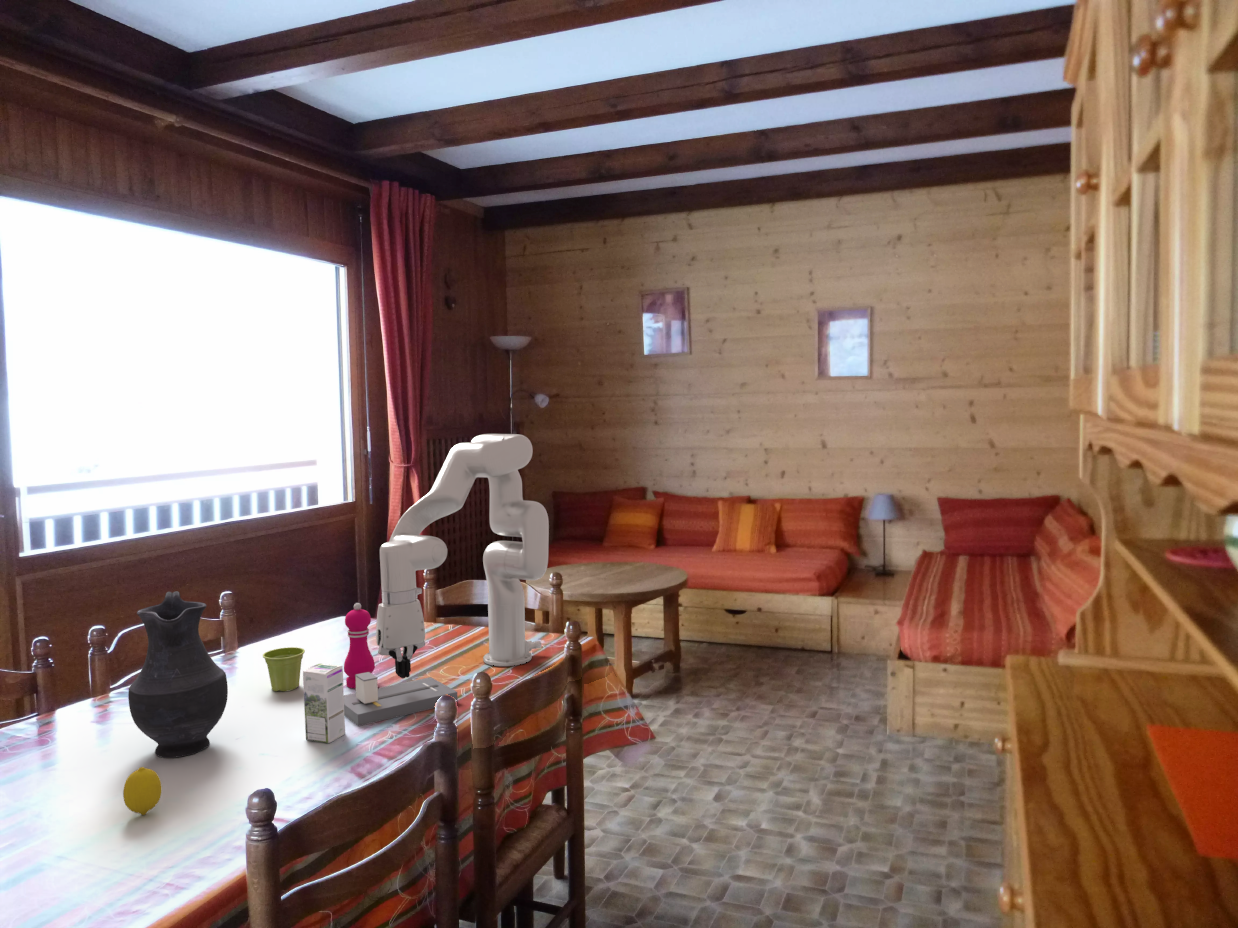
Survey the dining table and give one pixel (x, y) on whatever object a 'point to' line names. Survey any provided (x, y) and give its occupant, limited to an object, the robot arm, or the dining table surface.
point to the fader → (366, 687)
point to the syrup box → (324, 703)
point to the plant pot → (284, 667)
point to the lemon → (142, 790)
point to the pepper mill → (358, 645)
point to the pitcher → (177, 680)
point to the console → (396, 701)
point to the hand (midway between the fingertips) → (403, 676)
